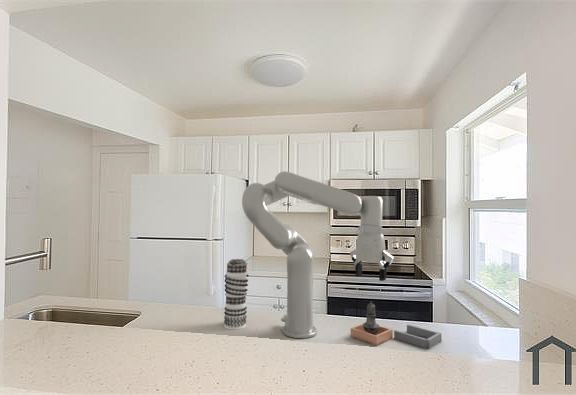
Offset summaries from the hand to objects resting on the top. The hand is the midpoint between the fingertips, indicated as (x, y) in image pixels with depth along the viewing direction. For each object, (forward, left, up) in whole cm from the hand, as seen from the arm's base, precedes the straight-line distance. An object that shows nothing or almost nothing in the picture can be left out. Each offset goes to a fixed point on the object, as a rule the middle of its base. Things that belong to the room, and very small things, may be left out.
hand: (370, 278), depth 111 cm
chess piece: (0, 0, -20) cm, 20 cm away
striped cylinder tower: (-41, -30, -21) cm, 55 cm away
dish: (0, 0, -21) cm, 21 cm away
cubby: (+11, +11, -21) cm, 26 cm away
